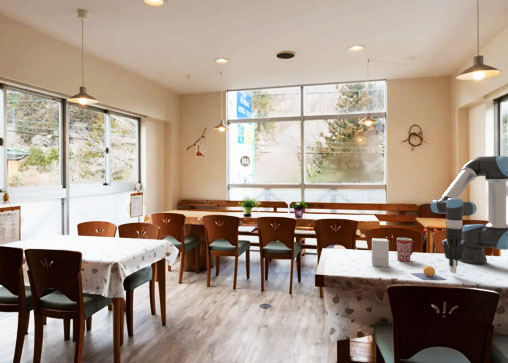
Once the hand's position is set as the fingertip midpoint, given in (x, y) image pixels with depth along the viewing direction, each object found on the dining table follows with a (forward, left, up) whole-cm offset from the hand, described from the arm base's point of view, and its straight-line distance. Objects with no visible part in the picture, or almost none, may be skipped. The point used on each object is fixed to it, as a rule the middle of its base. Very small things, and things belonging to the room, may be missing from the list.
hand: (453, 272), depth 190 cm
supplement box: (+28, -26, -2) cm, 38 cm away
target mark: (+14, 0, -2) cm, 14 cm away
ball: (+14, 0, +1) cm, 14 cm away
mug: (+6, -36, -2) cm, 37 cm away
